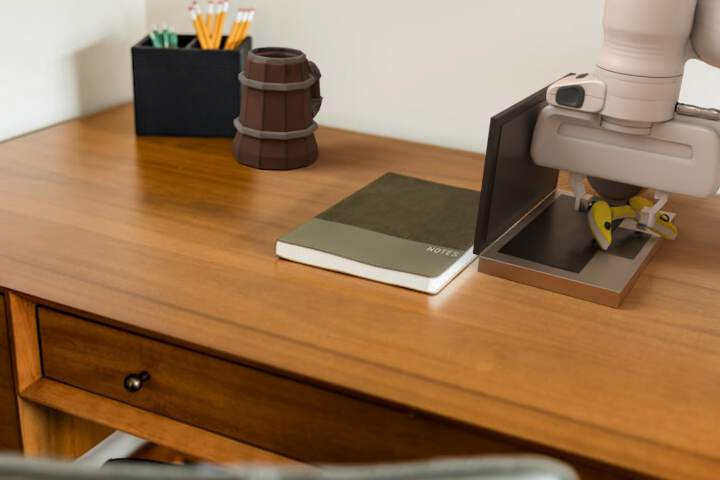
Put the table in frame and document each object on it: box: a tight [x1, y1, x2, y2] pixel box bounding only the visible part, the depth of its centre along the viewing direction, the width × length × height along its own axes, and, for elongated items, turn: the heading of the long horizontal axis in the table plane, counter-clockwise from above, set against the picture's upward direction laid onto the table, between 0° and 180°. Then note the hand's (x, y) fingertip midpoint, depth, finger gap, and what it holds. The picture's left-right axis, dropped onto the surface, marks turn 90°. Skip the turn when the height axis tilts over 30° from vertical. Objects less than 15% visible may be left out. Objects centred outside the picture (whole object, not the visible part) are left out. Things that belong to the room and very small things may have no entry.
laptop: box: [477, 188, 677, 309], centre depth 103 cm, size 15×26×2 cm, turn 150°
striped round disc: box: [585, 175, 650, 203], centre depth 117 cm, size 9×4×10 cm, turn 51°
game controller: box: [588, 196, 679, 250], centre depth 101 cm, size 10×6×4 cm, turn 116°
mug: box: [232, 46, 324, 171], centre depth 127 cm, size 16×12×15 cm
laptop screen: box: [472, 72, 577, 256], centre depth 103 cm, size 15×26×1 cm
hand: (613, 217), depth 100 cm, fingers closed on game controller, 6 cm apart
